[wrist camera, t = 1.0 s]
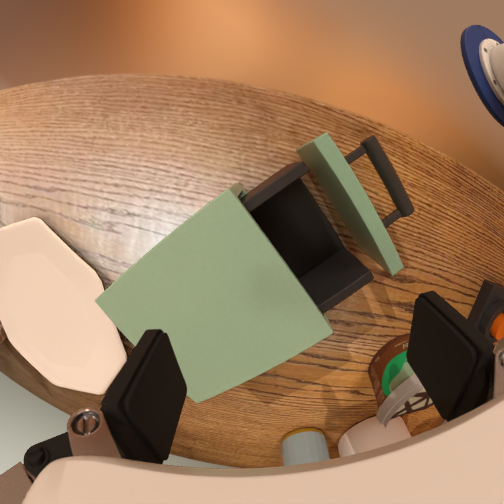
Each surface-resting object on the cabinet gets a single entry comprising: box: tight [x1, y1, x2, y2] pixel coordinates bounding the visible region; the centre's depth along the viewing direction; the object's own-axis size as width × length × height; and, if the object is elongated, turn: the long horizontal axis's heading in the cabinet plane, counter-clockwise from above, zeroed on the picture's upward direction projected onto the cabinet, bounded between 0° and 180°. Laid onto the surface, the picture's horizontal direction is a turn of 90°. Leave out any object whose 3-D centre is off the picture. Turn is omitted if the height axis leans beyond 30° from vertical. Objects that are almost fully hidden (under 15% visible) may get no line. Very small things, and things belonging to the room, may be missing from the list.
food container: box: [368, 334, 434, 428], centre depth 26 cm, size 12×6×10 cm, turn 100°
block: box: [467, 280, 504, 343], centre depth 28 cm, size 10×8×4 cm
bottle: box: [282, 427, 330, 466], centre depth 29 cm, size 7×7×15 cm
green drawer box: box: [95, 182, 334, 403], centre depth 23 cm, size 14×13×10 cm
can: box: [338, 416, 411, 457], centre depth 27 cm, size 12×12×20 cm
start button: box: [490, 313, 504, 340], centre depth 25 cm, size 4×4×2 cm
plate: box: [0, 217, 127, 395], centre depth 30 cm, size 28×28×2 cm
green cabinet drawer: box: [239, 133, 414, 314], centre depth 22 cm, size 17×11×8 cm
